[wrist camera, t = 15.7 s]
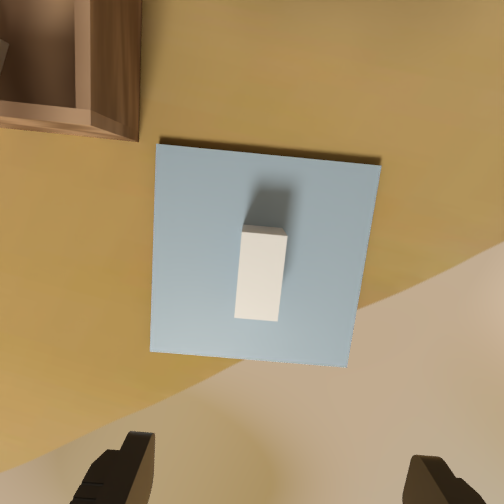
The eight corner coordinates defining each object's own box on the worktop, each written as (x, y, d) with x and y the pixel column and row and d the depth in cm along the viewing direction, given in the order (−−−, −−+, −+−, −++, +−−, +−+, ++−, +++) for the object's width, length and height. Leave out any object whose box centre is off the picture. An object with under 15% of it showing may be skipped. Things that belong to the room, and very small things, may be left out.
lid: (375, 166, 34) (404, 163, 27) (342, 359, 38) (361, 396, 32) (160, 145, 33) (139, 136, 27) (154, 344, 38) (134, 377, 31)
